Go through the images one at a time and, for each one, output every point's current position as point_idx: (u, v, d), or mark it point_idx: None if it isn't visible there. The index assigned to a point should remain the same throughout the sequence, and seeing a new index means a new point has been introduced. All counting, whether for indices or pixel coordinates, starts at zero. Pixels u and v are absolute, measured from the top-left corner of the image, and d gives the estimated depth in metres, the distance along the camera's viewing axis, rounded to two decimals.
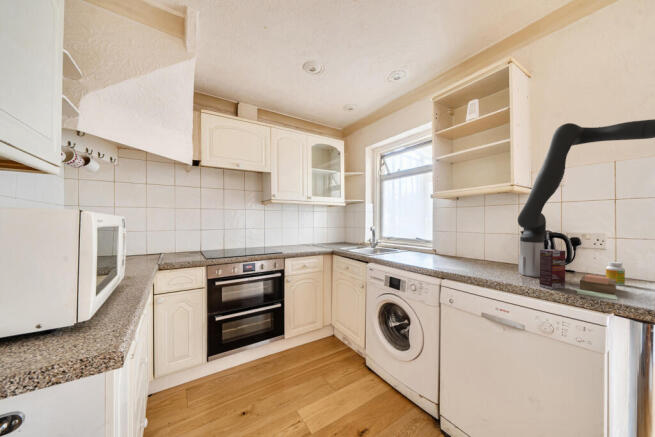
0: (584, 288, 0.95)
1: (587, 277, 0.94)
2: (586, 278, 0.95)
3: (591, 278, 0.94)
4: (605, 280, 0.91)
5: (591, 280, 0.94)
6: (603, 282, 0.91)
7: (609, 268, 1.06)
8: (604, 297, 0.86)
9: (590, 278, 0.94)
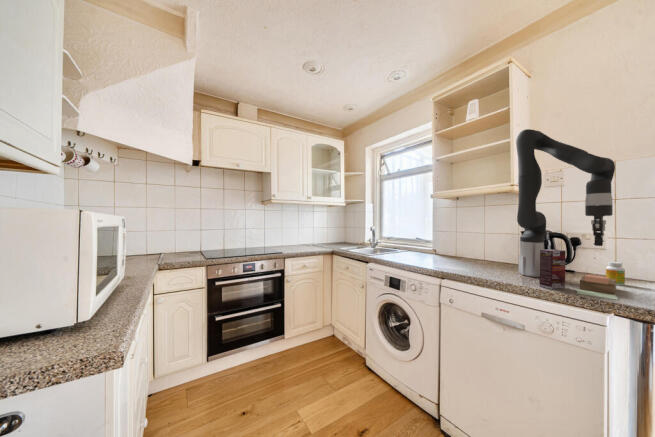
0: (584, 288, 0.95)
1: (587, 277, 0.94)
2: (586, 278, 0.95)
3: (591, 278, 0.94)
4: (605, 280, 0.91)
5: (591, 280, 0.94)
6: (603, 282, 0.91)
7: (609, 268, 1.06)
8: (604, 297, 0.86)
9: (590, 278, 0.94)
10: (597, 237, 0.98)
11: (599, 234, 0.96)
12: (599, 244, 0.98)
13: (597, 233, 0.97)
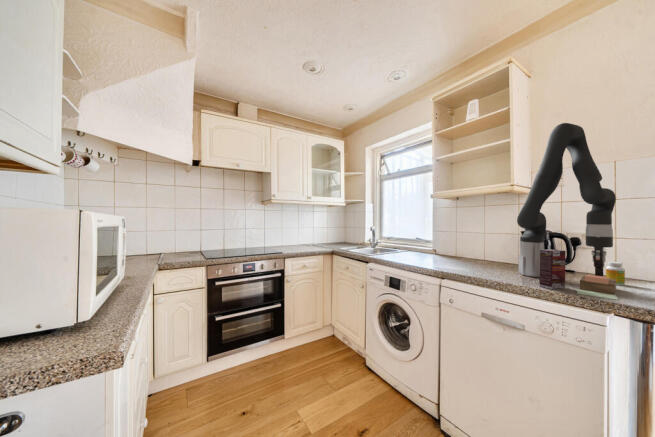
0: (584, 288, 0.95)
1: (587, 277, 0.94)
2: (586, 278, 0.95)
3: (591, 278, 0.94)
4: (605, 280, 0.91)
5: (591, 280, 0.94)
6: (603, 282, 0.91)
7: (609, 268, 1.06)
8: (604, 297, 0.86)
9: (590, 278, 0.94)
10: (597, 268, 0.98)
11: (599, 266, 0.96)
12: (599, 275, 0.98)
13: (597, 264, 0.97)
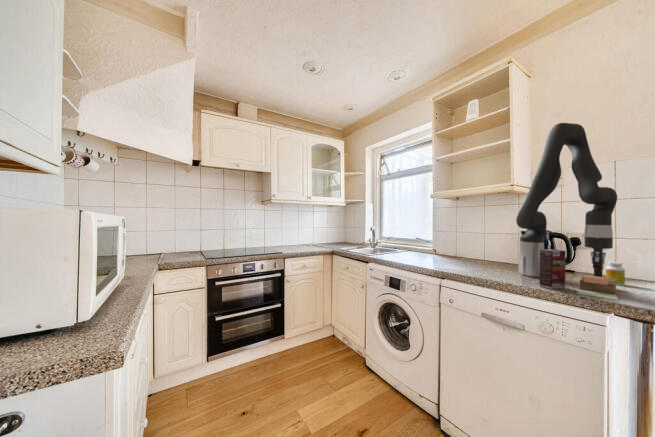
0: (584, 288, 0.95)
1: (586, 278, 0.93)
2: (585, 279, 0.94)
3: (590, 279, 0.93)
4: (604, 281, 0.90)
5: (590, 281, 0.93)
6: (602, 283, 0.90)
7: (609, 268, 1.06)
8: (604, 297, 0.86)
9: (589, 279, 0.93)
10: (597, 270, 0.95)
11: (599, 267, 0.93)
12: None
13: (597, 266, 0.93)
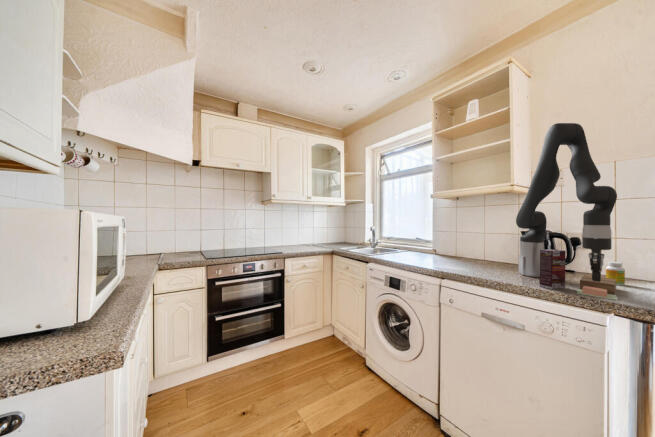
0: None
1: None
2: None
3: None
4: None
5: None
6: None
7: (609, 268, 1.06)
8: (604, 297, 0.86)
9: None
10: (595, 272, 0.91)
11: (597, 269, 0.90)
12: (597, 279, 0.91)
13: (595, 268, 0.90)
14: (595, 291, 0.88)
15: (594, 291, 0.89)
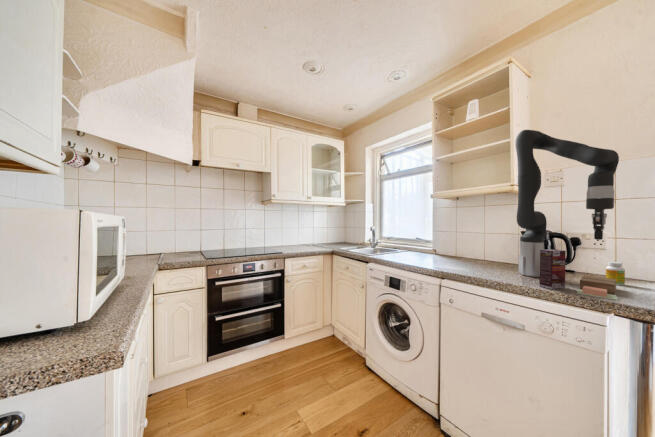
0: None
1: None
2: None
3: None
4: None
5: None
6: None
7: (609, 268, 1.06)
8: (604, 297, 0.86)
9: None
10: (597, 230, 0.97)
11: (599, 227, 0.95)
12: (599, 238, 0.97)
13: (597, 226, 0.96)
14: (595, 291, 0.88)
15: (594, 291, 0.89)
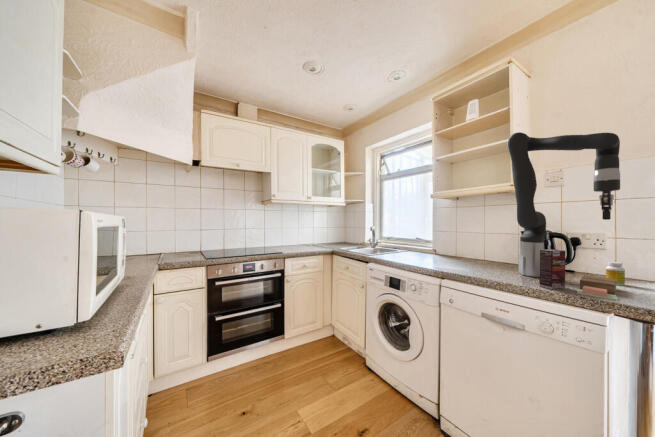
0: None
1: None
2: None
3: None
4: None
5: None
6: None
7: (609, 268, 1.06)
8: (604, 297, 0.86)
9: None
10: (605, 211, 1.02)
11: (607, 208, 1.00)
12: (607, 218, 1.02)
13: (605, 207, 1.01)
14: (595, 291, 0.88)
15: (594, 291, 0.89)
